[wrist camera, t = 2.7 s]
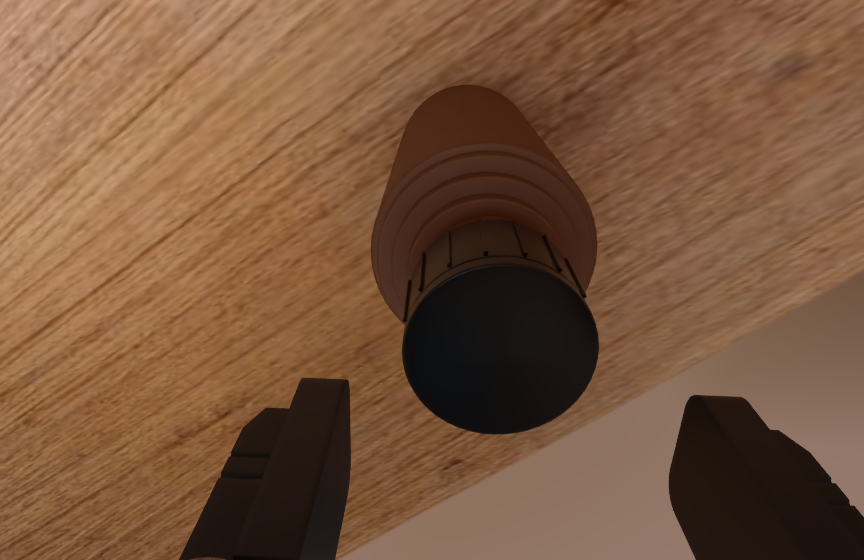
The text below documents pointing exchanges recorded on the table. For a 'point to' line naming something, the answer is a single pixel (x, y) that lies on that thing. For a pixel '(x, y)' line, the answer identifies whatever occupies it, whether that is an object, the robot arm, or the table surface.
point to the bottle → (474, 186)
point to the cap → (497, 329)
